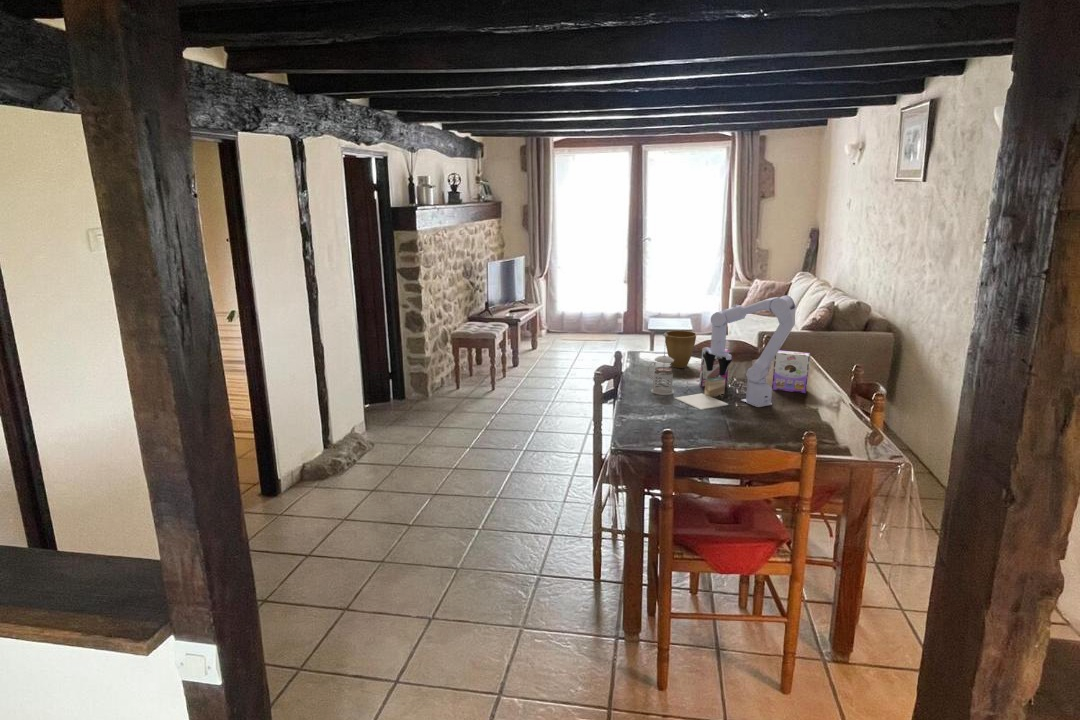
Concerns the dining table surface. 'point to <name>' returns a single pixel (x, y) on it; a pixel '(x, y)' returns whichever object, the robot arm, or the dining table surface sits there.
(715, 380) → the slab
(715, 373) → the candy bar box
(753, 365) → the robot arm
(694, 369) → the dining table surface
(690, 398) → the mat
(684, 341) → the plant pot
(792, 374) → the candy box
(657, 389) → the french press
